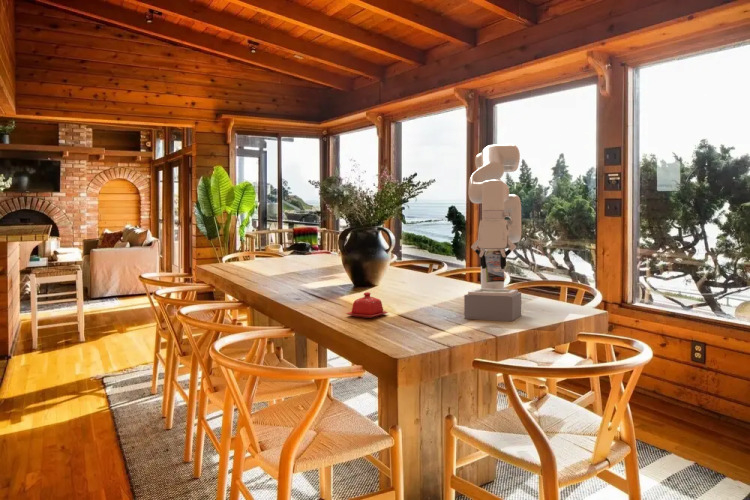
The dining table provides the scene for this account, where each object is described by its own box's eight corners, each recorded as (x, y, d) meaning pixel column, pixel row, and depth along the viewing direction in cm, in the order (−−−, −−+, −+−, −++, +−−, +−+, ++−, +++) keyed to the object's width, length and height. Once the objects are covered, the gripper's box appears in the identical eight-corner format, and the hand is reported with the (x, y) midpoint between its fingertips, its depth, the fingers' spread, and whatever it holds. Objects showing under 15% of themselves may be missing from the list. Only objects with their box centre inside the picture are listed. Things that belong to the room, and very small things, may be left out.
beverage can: (492, 286, 184) (491, 250, 184) (481, 284, 191) (481, 250, 191) (508, 285, 186) (508, 250, 186) (497, 283, 193) (497, 249, 193)
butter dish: (371, 319, 187) (371, 294, 187) (344, 316, 194) (344, 292, 194) (389, 315, 197) (389, 291, 196) (364, 313, 203) (363, 290, 203)
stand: (476, 312, 200) (476, 288, 200) (521, 315, 193) (521, 289, 193) (464, 318, 185) (464, 292, 185) (512, 321, 179) (512, 293, 178)
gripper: (520, 216, 188) (520, 268, 189) (471, 217, 196) (471, 267, 196) (516, 215, 182) (516, 269, 182) (465, 216, 189) (465, 268, 189)
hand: (493, 268), depth 189 cm, fingers closed on beverage can, 5 cm apart
